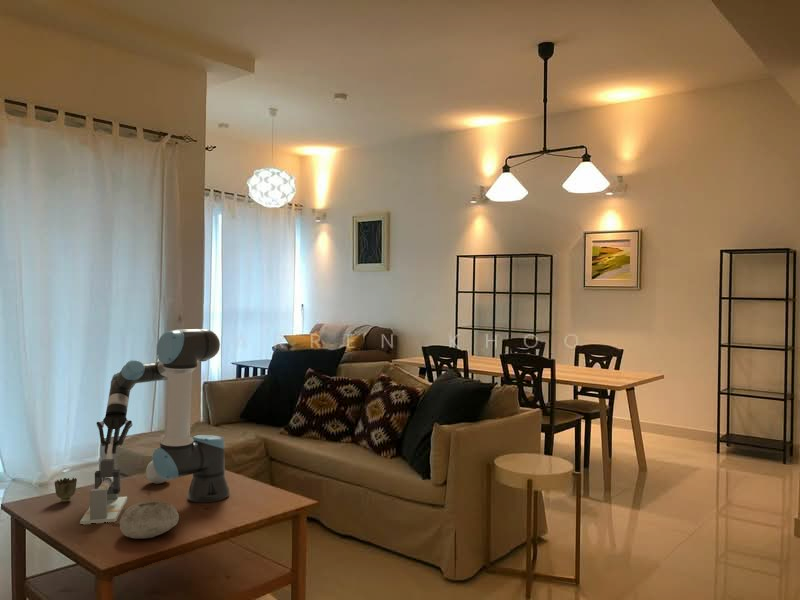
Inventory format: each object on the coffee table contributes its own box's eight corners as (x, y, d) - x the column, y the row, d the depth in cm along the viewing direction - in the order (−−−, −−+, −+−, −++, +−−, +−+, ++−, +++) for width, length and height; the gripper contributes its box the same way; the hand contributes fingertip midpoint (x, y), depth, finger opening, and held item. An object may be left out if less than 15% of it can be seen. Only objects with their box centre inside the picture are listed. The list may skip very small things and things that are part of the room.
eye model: (176, 480, 266) (176, 456, 266) (162, 487, 256) (162, 462, 256) (155, 478, 268) (155, 454, 268) (140, 485, 258) (140, 461, 258)
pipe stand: (95, 501, 238) (95, 472, 238) (127, 499, 241) (127, 470, 241) (80, 524, 215) (79, 492, 215) (115, 521, 218) (115, 489, 218)
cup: (81, 498, 242) (81, 477, 242) (69, 505, 235) (69, 483, 235) (62, 498, 243) (62, 477, 243) (50, 504, 236) (49, 482, 235)
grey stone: (134, 523, 216) (134, 494, 216) (186, 524, 216) (186, 494, 216) (109, 544, 199) (109, 512, 198) (165, 545, 198) (165, 513, 198)
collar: (96, 492, 233) (96, 459, 233) (120, 491, 235) (120, 458, 235) (94, 495, 231) (94, 462, 230) (118, 493, 233) (118, 460, 232)
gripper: (135, 412, 257) (128, 465, 242) (100, 414, 254) (91, 467, 238) (133, 401, 252) (126, 454, 236) (97, 403, 249) (87, 456, 233)
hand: (108, 460), depth 237 cm, fingers closed
